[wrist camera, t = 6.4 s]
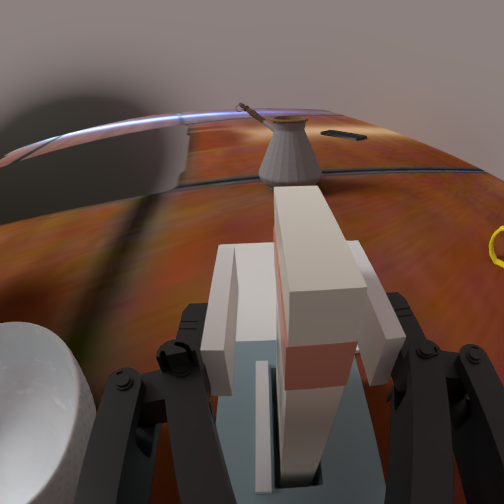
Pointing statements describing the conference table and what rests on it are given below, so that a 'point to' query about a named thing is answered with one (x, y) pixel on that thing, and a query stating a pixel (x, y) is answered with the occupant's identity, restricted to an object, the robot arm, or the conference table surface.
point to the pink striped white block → (311, 327)
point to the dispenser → (266, 446)
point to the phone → (344, 135)
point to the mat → (256, 292)
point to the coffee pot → (287, 153)
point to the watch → (491, 249)
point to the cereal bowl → (41, 416)
